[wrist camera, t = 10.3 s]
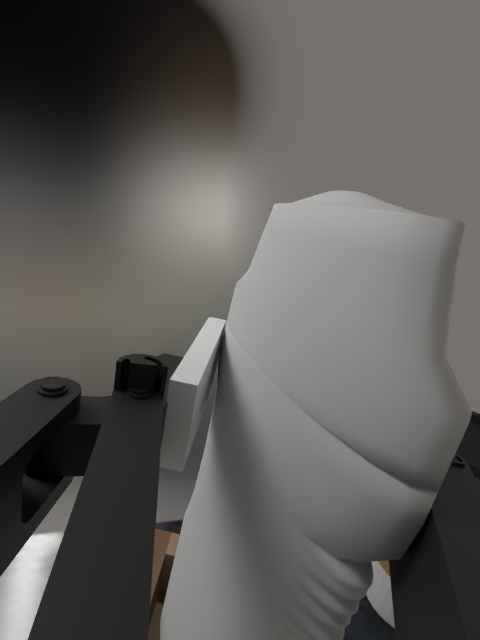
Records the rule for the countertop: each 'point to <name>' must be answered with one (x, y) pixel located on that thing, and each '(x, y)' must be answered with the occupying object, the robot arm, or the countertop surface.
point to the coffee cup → (476, 451)
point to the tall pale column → (321, 422)
